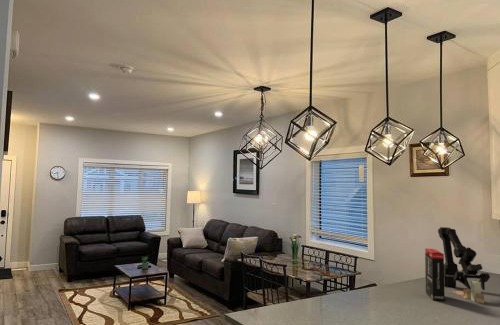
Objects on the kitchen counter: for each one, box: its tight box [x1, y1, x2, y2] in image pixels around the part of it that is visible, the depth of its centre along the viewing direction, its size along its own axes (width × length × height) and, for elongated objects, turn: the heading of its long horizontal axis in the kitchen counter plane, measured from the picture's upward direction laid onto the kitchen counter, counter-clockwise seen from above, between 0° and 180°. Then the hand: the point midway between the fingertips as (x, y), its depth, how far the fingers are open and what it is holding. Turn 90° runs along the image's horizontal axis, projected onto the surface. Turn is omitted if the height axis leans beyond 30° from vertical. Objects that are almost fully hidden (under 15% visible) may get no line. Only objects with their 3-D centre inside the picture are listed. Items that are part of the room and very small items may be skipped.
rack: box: [461, 288, 485, 304], centre depth 215 cm, size 13×8×5 cm, turn 176°
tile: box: [451, 290, 464, 296], centre depth 228 cm, size 9×9×1 cm
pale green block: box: [470, 279, 482, 303], centre depth 213 cm, size 4×4×11 cm
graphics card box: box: [424, 248, 446, 302], centre depth 218 cm, size 17×7×27 cm, turn 168°
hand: (477, 289), depth 212 cm, fingers open, 7 cm apart
